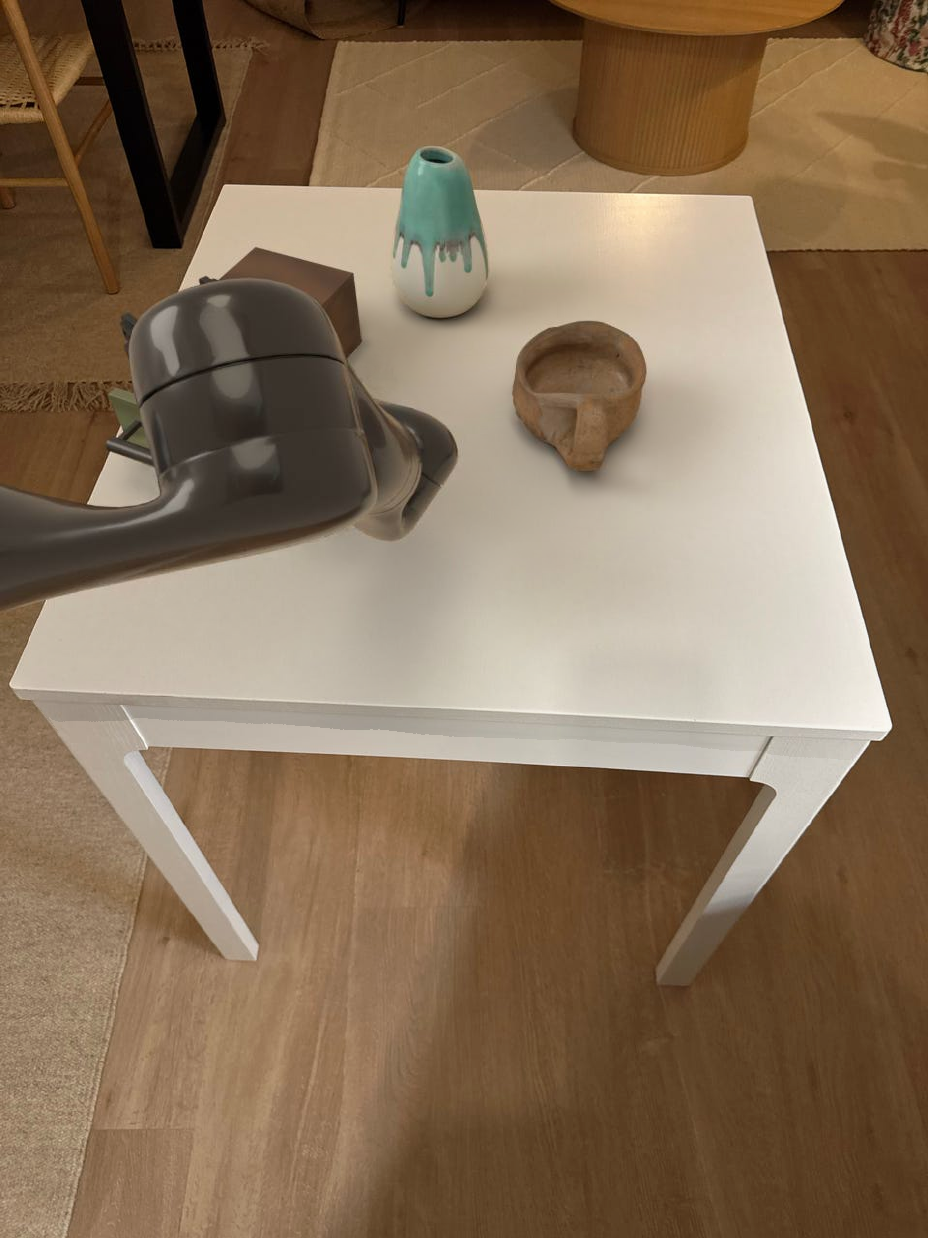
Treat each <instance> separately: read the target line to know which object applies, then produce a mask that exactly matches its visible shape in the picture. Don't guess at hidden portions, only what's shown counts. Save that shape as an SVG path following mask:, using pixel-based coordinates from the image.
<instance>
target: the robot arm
mask: <svg viewBox="0 0 928 1238" xmlns="http://www.w3.org/2000/svg"><path fill="white" fill-rule="evenodd" d="M198 283H199V284H198V285H194V286H190V287H187V288H184V289H181V290H179V291H177V292H174V293H172V294H170V295H168V296H167V297H165V298H162V299H161V300H159V301H156V302H155V303H154V304H153V305H151V306H150V307H149V308H147V309H146V310H145V311H143V313H142V314H141V316H140V317H139V318H138V319H137V318H136V317H135V316H134V315H132V314H131V313H130V312H125V313H124V314H121V315H120V319H121V321H119V326H120V328H121V331H122V334H123V337H124V339H125V340H126V341H127V342H126V343H124V345H123V350H124V352H125V354H126V356H127V358H128V362H129V371H130V379H131V385H132V389H133V393H134V394H135V398H136V403H137V406H138V409H139V412H140V415H141V419H142V423H143V426H144V430H145V434H146V437H147V441H148V445H149V449H150V452H151V456H152V460H153V464H154V467H153V468H154V471H155V474H156V478H157V485H158V489H159V495H158V496H157V497H155V498H154V499H152V500H150V501H147V502H143V503H139V504H135V505H134V504H133V505H127V506H126V505H125V506H104V505H96V504H95V505H94V504H88V503H83V502H77V501H72V500H67V499H64V498H63V499H62V498H58V497H53V496H49V495H45V494H40V493H36V492H32V491H28V490H25V489H22V488H18V487H15V486H11V485H8V484H6V483H3V482H0V614H1V613H4V612H8V611H11V610H15V609H19V608H21V607H25V606H28V605H33V604H36V603H39V602H43V601H48V600H52V599H55V598H58V597H62V596H68V595H71V594H72V595H73V594H76V593H81V592H84V591H89V590H93V589H99V588H103V587H108V586H112V585H117V584H122V583H127V582H131V581H137V580H141V579H146V578H151V577H157V576H161V575H166V574H171V573H175V572H180V571H185V570H190V569H194V568H200V567H204V566H210V565H215V564H218V563H219V564H220V563H224V562H230V561H234V560H239V559H244V558H248V557H253V556H257V555H261V554H267V553H271V552H275V551H279V550H283V549H288V548H293V547H296V546H300V545H304V544H307V543H311V542H314V541H317V540H321V539H323V538H325V537H328V536H331V535H333V534H336V533H339V532H341V531H343V530H345V529H347V528H349V527H351V526H353V527H355V528H356V529H357V530H358V531H360V532H361V533H363V534H364V535H366V536H368V537H370V538H372V539H375V540H377V541H380V542H381V541H382V542H389V543H391V542H397V541H399V540H402V539H403V538H406V536H408V534H410V533H411V532H412V531H413V529H414V528H415V527H416V526H417V525H418V524H419V522H420V520H421V518H422V517H423V516H424V514H425V512H426V511H427V509H428V508H429V507H430V506H431V504H432V503H433V502H434V499H435V498H436V497H437V495H438V493H440V491H441V490H442V486H444V485H445V483H446V482H447V481H448V479H449V477H450V476H451V475H452V473H453V471H454V470H455V468H456V466H457V464H458V461H459V448H458V444H457V442H456V439H455V437H454V435H453V434H452V432H451V430H450V429H449V428H448V427H447V426H446V424H444V423H443V422H442V421H440V420H439V419H437V417H434V416H433V415H431V414H429V413H427V412H424V411H421V410H418V409H416V408H412V407H409V406H405V405H401V404H397V403H392V402H389V401H384V400H380V399H377V398H374V397H373V395H372V394H371V393H370V392H369V390H368V389H367V388H366V386H365V385H364V383H363V381H361V379H360V377H359V376H358V375H357V373H356V372H355V370H354V369H353V367H352V365H351V364H350V362H349V360H348V358H345V354H344V351H343V348H342V345H341V343H340V340H339V338H338V336H337V333H336V331H335V329H334V327H333V325H332V323H331V321H330V319H329V317H328V315H327V314H326V312H325V310H324V309H323V308H322V306H321V305H320V304H319V303H318V302H317V301H316V300H315V299H314V298H313V297H312V296H310V295H309V294H307V293H306V292H304V291H302V290H300V289H298V288H295V287H293V286H291V285H289V284H285V283H281V282H277V281H273V280H269V279H258V278H236V279H225V280H219V279H216V278H210V277H209V276H207V275H204V276H202V277H200V278H199V279H198Z"/></svg>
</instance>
